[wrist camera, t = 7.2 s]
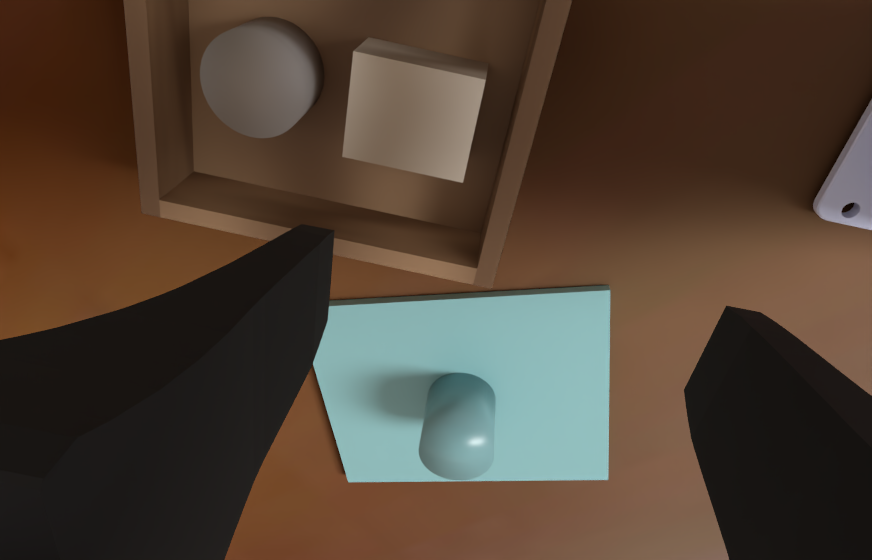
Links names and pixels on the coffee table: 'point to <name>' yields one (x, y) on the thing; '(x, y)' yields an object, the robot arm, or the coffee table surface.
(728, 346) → the robot arm
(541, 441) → the lid
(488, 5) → the crate
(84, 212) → the coffee table surface
